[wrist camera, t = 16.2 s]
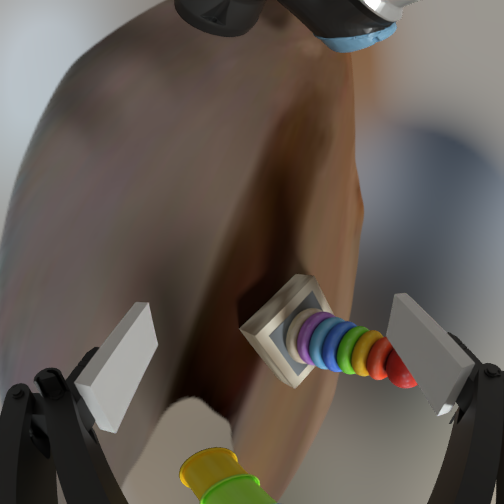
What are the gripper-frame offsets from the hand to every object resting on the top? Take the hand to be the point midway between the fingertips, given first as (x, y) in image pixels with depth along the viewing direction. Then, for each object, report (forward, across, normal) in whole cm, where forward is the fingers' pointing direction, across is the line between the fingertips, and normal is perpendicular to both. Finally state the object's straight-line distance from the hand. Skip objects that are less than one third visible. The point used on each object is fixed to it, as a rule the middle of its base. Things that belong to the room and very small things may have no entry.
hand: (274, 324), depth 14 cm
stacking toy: (+20, +5, -15) cm, 26 cm away
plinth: (+24, +3, -16) cm, 29 cm away
